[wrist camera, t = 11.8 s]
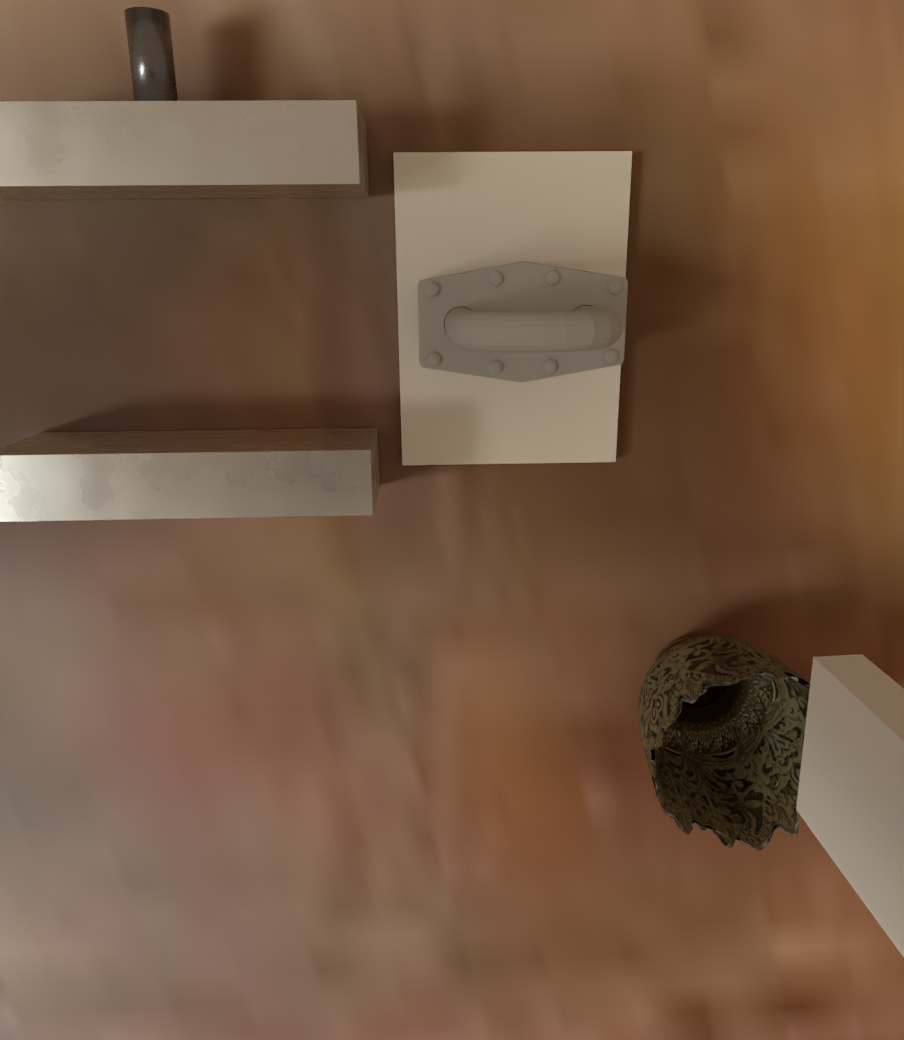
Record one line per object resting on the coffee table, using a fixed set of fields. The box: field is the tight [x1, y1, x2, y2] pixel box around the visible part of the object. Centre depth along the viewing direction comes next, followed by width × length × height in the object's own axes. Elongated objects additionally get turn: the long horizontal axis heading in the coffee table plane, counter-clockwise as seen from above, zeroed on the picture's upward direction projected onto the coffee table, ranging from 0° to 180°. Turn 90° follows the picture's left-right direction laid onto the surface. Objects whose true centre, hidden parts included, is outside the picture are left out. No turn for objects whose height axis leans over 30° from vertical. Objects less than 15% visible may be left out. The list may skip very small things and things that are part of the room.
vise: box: [0, 7, 380, 522], centre depth 29 cm, size 14×17×4 cm
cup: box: [638, 635, 810, 850], centre depth 33 cm, size 8×7×8 cm
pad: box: [393, 151, 632, 465], centre depth 32 cm, size 9×12×1 cm
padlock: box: [418, 261, 628, 382], centre depth 26 cm, size 7×4×10 cm, turn 91°
